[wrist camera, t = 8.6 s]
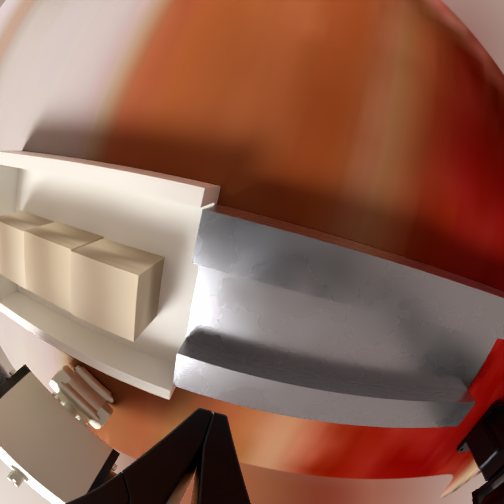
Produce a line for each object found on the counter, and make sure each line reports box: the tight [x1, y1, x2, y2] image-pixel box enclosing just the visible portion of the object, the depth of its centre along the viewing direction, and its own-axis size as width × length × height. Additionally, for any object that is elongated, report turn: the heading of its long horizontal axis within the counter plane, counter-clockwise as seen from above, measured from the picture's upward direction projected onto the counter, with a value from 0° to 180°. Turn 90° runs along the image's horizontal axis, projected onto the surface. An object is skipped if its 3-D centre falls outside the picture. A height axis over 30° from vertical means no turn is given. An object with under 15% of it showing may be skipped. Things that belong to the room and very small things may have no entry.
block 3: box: [71, 238, 165, 342], centre depth 14 cm, size 4×4×3 cm
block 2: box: [24, 222, 104, 313], centre depth 14 cm, size 4×4×3 cm
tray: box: [0, 151, 221, 400], centre depth 14 cm, size 16×12×3 cm
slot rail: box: [173, 204, 504, 428], centre depth 14 cm, size 20×10×3 cm, turn 76°
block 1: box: [0, 211, 54, 290], centre depth 14 cm, size 4×4×3 cm
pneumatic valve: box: [0, 364, 119, 504], centre depth 13 cm, size 6×12×12 cm, turn 44°
